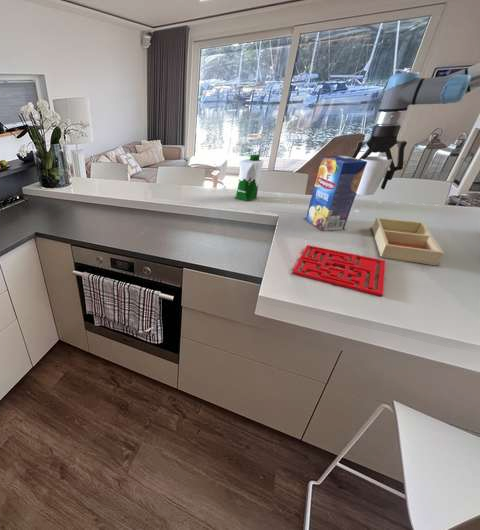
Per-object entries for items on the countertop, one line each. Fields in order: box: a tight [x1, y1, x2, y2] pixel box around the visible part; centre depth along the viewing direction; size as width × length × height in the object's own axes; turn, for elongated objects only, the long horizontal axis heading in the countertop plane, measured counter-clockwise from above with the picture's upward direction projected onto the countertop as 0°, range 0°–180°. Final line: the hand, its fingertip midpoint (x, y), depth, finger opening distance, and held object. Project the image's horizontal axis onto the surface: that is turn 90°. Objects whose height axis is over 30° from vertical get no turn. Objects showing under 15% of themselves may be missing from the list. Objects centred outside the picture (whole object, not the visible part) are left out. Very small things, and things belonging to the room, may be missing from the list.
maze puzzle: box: [292, 244, 386, 297], centre depth 83 cm, size 20×20×1 cm
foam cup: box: [356, 155, 393, 196], centre depth 111 cm, size 10×9×13 cm
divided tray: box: [371, 217, 444, 266], centre depth 92 cm, size 12×24×4 cm, turn 148°
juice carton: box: [305, 154, 367, 231], centre depth 105 cm, size 12×8×24 cm, turn 179°
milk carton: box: [235, 154, 265, 202], centre depth 138 cm, size 9×9×20 cm
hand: (365, 187), depth 113 cm, fingers closed on foam cup, 9 cm apart
